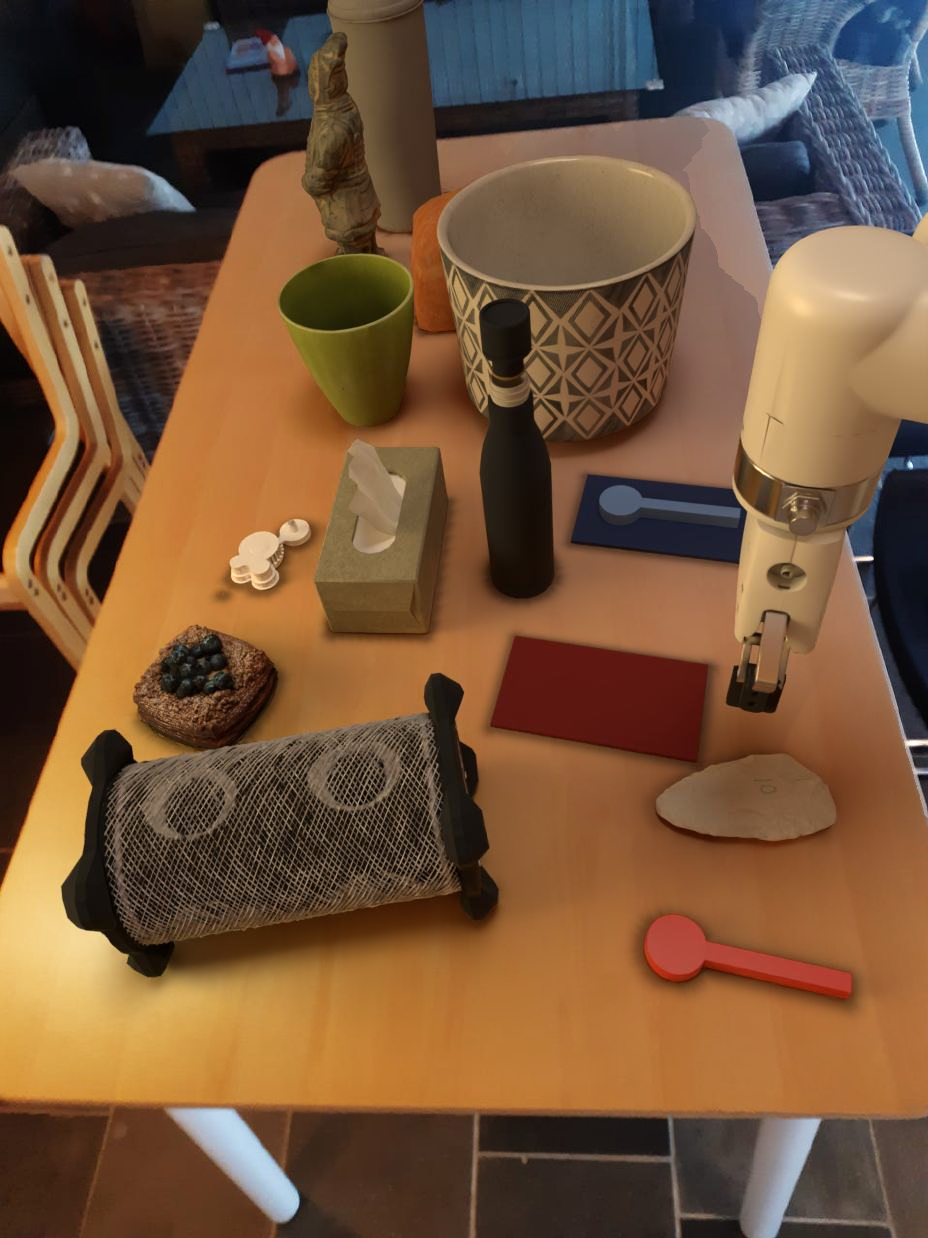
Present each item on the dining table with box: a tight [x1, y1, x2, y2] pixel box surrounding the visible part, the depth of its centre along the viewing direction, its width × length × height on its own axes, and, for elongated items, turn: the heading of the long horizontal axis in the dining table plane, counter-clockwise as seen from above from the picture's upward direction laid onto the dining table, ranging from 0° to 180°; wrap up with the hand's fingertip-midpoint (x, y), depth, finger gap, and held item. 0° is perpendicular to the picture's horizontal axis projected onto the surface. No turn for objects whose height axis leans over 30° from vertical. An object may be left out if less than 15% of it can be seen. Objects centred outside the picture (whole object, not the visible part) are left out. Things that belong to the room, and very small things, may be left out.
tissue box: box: [312, 438, 449, 634], centre depth 86 cm, size 19×10×16 cm, turn 174°
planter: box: [437, 154, 698, 443], centre depth 97 cm, size 26×26×22 cm
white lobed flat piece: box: [216, 518, 312, 596], centre depth 93 cm, size 9×9×2 cm
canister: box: [326, 0, 443, 233], centre depth 122 cm, size 13×13×35 cm
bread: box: [409, 186, 466, 333], centre depth 113 cm, size 14×33×16 cm, turn 94°
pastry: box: [132, 623, 280, 752], centre depth 81 cm, size 11×12×6 cm
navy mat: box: [570, 473, 747, 564], centre depth 92 cm, size 18×10×1 cm, turn 75°
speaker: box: [60, 672, 500, 979], centre depth 66 cm, size 15×28×15 cm, turn 98°
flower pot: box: [277, 254, 415, 428], centre depth 102 cm, size 15×15×16 cm
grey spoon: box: [599, 485, 741, 529], centre depth 91 cm, size 14×4×2 cm, turn 75°
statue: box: [301, 32, 387, 257], centre depth 116 cm, size 11×9×30 cm
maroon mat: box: [489, 635, 709, 763], centre depth 79 cm, size 18×10×1 cm, turn 75°
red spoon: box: [644, 913, 853, 1000], centre depth 63 cm, size 14×4×2 cm, turn 75°
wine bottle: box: [478, 298, 555, 599], centre depth 77 cm, size 6×6×30 cm
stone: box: [655, 752, 837, 842], centre depth 71 cm, size 8×14×2 cm, turn 95°
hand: (756, 648), depth 62 cm, fingers open, 9 cm apart
